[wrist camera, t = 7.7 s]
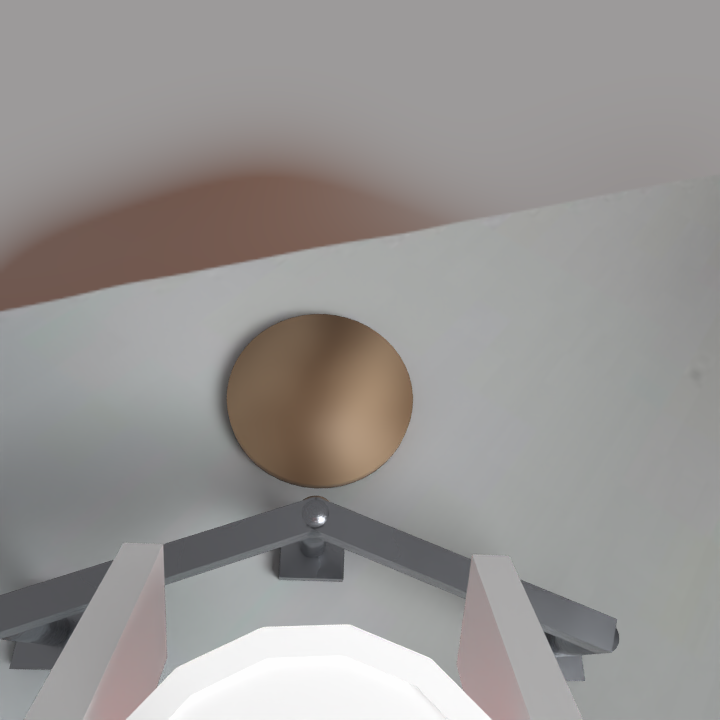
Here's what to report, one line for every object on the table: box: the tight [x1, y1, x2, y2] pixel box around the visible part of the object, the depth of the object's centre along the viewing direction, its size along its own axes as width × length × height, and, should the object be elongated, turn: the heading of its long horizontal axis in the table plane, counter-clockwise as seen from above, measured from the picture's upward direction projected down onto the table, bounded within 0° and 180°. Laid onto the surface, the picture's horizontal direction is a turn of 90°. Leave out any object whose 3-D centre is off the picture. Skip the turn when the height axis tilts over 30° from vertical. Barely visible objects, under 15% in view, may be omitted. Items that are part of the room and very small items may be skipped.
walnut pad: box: [227, 314, 413, 488], centre depth 33 cm, size 10×10×1 cm
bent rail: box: [0, 496, 619, 681], centre depth 26 cm, size 25×7×7 cm, turn 89°
